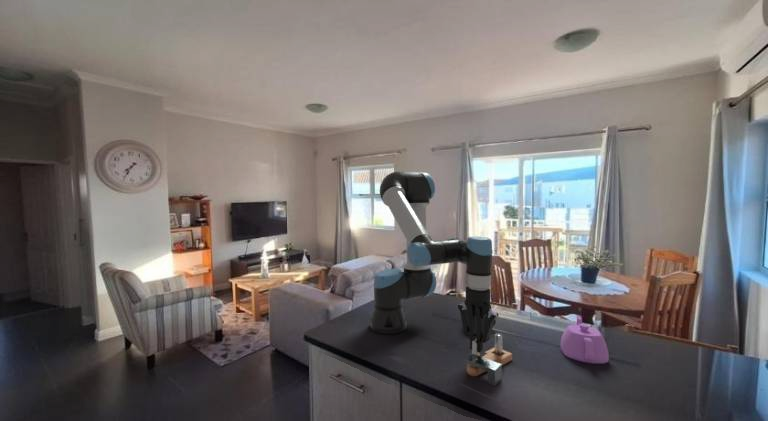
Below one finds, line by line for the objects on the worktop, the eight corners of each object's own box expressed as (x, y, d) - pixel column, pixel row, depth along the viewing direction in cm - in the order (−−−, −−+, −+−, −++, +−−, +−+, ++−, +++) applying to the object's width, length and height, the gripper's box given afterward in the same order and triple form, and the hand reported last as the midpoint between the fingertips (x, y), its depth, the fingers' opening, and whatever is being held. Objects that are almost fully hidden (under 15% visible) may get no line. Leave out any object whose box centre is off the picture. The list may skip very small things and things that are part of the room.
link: (495, 352, 106) (495, 346, 106) (512, 359, 101) (512, 353, 101) (461, 370, 96) (461, 363, 95) (477, 379, 91) (477, 372, 91)
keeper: (465, 374, 94) (465, 359, 94) (472, 368, 97) (472, 353, 97) (494, 386, 88) (494, 370, 87) (501, 379, 91) (501, 364, 91)
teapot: (599, 346, 112) (599, 316, 112) (616, 376, 94) (616, 340, 93) (556, 340, 117) (557, 311, 117) (564, 368, 99) (565, 333, 98)
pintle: (493, 359, 102) (493, 335, 102) (496, 356, 104) (496, 333, 103) (500, 362, 100) (500, 337, 100) (503, 359, 102) (503, 335, 102)
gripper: (503, 289, 96) (500, 364, 97) (466, 280, 105) (463, 349, 106) (492, 294, 91) (489, 373, 92) (453, 284, 100) (451, 357, 101)
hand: (475, 360), depth 99 cm, fingers closed
